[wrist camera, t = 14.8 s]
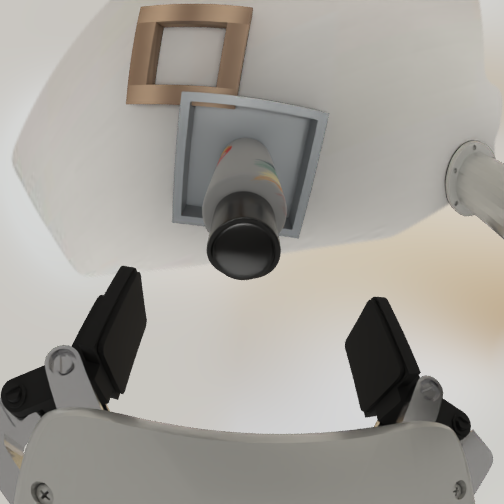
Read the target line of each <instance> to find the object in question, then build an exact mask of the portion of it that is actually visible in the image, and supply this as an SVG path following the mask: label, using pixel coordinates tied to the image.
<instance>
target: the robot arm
mask: <svg viewBox="0 0 504 504" xmlns="http://www.w3.org/2000/svg"><path fill="white" fill-rule="evenodd" d="M446 194H447V198H448V201H449V203H450V205H451V207H452V208H453V209H455V211H457V212H458V213H459V214H461V215H463V216H472V215H476V216H477V217H479V218H480V219H481V220H482V221H484V222H485V223H486V224H487V225H488V226H489V227H491V228H492V229H493V230H494V231H495V232H496V233H498V234H499V235H500V236H501V237H502V238H503V239H504V163H502V162H500V161H498V160H496V159H495V156H494V154H493V152H492V151H491V149H490V148H489V147H488V146H487V145H485V144H483V143H481V142H478V141H470V142H467V143H465V144H463V145H462V146H461V147H460V148H459V149H458V150H457V151H456V153H455V154H454V156H453V158H452V160H451V162H450V164H449V167H448V171H447V176H446ZM146 322H147V319H146V313H145V305H144V298H143V291H142V282H141V274H140V272H137V270H136V268H133V267H127V266H121V267H120V269H119V270H118V272H117V274H116V275H115V277H114V279H113V281H112V282H111V284H110V286H109V287H108V289H107V291H106V293H105V294H104V295H100V296H99V297H98V298H97V300H96V302H95V303H94V305H93V307H92V309H91V311H90V312H89V314H88V316H87V318H86V320H85V321H84V323H83V325H82V327H81V329H80V331H79V333H78V335H77V337H76V339H75V341H74V343H73V345H72V347H71V346H66V345H62V346H57V347H55V348H53V349H52V350H51V351H50V352H49V353H48V355H47V356H46V359H45V365H44V366H42V367H39V368H37V369H35V370H32V371H30V372H27V373H25V374H23V375H20V376H18V377H15V378H13V379H11V380H9V381H7V382H6V383H5V385H4V386H3V388H2V391H1V398H0V490H1V492H2V493H3V495H4V496H5V497H6V499H7V500H8V501H9V503H10V504H475V500H474V494H475V493H476V491H477V489H478V488H479V486H480V484H481V483H482V481H483V480H484V478H485V476H486V475H487V473H488V471H489V469H490V467H491V465H492V462H493V456H492V453H491V451H490V450H489V448H488V447H487V446H486V445H485V443H484V442H483V441H482V440H481V439H480V437H479V436H478V435H477V434H476V433H475V431H474V430H472V431H470V428H471V425H470V420H469V418H468V416H467V415H466V414H465V413H464V412H462V411H461V410H459V409H458V408H456V407H455V406H453V405H452V404H450V403H449V402H447V401H446V400H444V399H443V390H442V387H441V385H440V384H439V382H438V381H437V380H436V379H435V378H433V377H431V376H422V377H421V378H420V377H419V374H420V373H421V372H420V370H419V367H418V365H417V363H416V360H415V358H414V356H413V353H412V351H411V349H410V346H409V344H408V342H407V340H406V338H405V335H404V333H403V331H402V329H401V327H400V325H399V322H398V321H397V318H396V316H395V314H394V312H393V310H392V308H391V306H390V304H389V302H388V300H387V299H386V298H384V297H373V298H372V299H371V300H369V301H368V302H367V304H366V306H365V307H364V309H363V311H362V313H361V315H360V316H359V318H358V320H357V322H356V324H355V325H354V327H353V329H352V331H351V332H350V334H349V336H348V338H347V339H346V342H345V349H346V352H347V356H348V360H349V363H350V368H351V372H352V375H353V379H354V383H355V387H356V391H357V395H358V399H359V404H360V408H361V410H362V411H364V414H365V417H371V416H376V415H377V419H378V420H377V422H376V424H375V426H374V427H371V428H364V429H357V430H349V431H338V432H326V433H308V434H255V433H237V432H225V431H214V430H205V429H198V428H191V427H184V426H178V425H172V424H166V423H161V422H156V421H151V420H146V419H140V418H136V417H132V416H128V415H123V414H119V413H114V412H110V410H109V408H108V406H107V403H109V400H110V398H114V399H117V400H118V398H119V395H120V393H121V394H123V393H124V392H125V389H126V385H127V382H128V379H129V375H130V372H131V369H132V366H133V363H134V359H135V357H136V354H137V351H138V348H139V345H140V342H141V339H142V336H143V333H144V330H145V328H146ZM27 443H28V444H27ZM26 444H27V447H26V450H25V453H23V451H24V447H25V445H26Z"/></svg>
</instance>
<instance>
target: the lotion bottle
mask: <svg viewBox="0 0 504 504" xmlns="http://www.w3.org/2000/svg"><path fill="white" fill-rule="evenodd" d="M202 215H203V221H204V224H205V226H206V229H207V230H208V232H209V238H208V243H207V256H208V259H209V261H210V262H211V264H212V265H213V266H214V267H215V268H216V269H217V270H219V271H220V272H222V273H224V274H225V275H227V276H228V277H231V278H234V279H238V280H249V279H253V278H259V277H262V276H265V275H266V274H268V273H270V272H271V271H272V270H273V269H274V268H275V267H276V265H277V264H278V261H279V259H280V253H281V248H280V241H279V233H280V232H281V230H282V229H283V227H284V224H285V221H286V215H287V206H286V201H285V198H284V194H283V191H282V188H281V185H280V182H279V179H278V176H277V174H276V171H275V168H274V165H273V162H272V159H271V157H270V154H269V152H268V150H267V149H266V147H265V146H264V145H263V144H262V143H261V142H259V141H257V140H255V139H252V138H240V139H236V140H234V141H232V142H231V143H230V144H228V145H227V147H226V148H225V149H224V151H223V153H222V155H221V157H220V159H219V162H218V164H217V167H216V169H215V172H214V174H213V177H212V179H211V182H210V184H209V187H208V189H207V192H206V195H205V198H204V201H203V207H202Z"/></svg>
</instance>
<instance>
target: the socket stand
mask: <svg viewBox="0 0 504 504" xmlns="http://www.w3.org/2000/svg"><path fill="white" fill-rule="evenodd" d="M252 11H253V8H252V7H243V6H232V5H217V4H169V5H155V6H144V7H141V8H140V13H139V17H138V22H137V27H136V32H135V38H134V43H133V50H132V56H131V63H130V71H129V79H128V88H127V99H126V104H172V105H180V102H181V94H182V92H201V93H214V94H224V95H233V96H238V91H239V85H240V79H241V73H242V67H243V61H244V56H245V50H246V45H247V39H248V34H249V29H250V24H251V19H252ZM164 27H214V28H226V33H225V39H224V44H223V50H222V55H221V61H220V67H219V73H218V80H217V86H216V87H206V86H190V85H155V79H156V72H157V65H158V58H159V52H160V46H161V40H162V34H163V29H164ZM192 106H205V107H216V108H226V109H234V110H235V108H236V105H228V104H218V103H207V102H194V101H192Z"/></svg>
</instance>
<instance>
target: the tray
mask: <svg viewBox="0 0 504 504" xmlns="http://www.w3.org/2000/svg"><path fill="white" fill-rule="evenodd" d="M192 101H194V102H207V103H218V104H228V105H236V108H235V110H234V109H226V108H216V107H205V106H192ZM328 116H329V113H325V112H322V111H318V110H314V109H310V108H305V107H301V106H296V105H291V104H286V103H281V102H275V101H269V100H263V99H257V98H250V97H243V96H233V95H224V94H214V93H201V92H182V94H181V102H180V111H179V121H178V131H177V142H176V155H175V170H174V189H173V220H172V223H181V224H190V225H198V226H205V224H204V221H203V215H202V207H203V201H204V198H205V195H206V192H207V189H208V187H209V184H210V182H211V179H212V177H213V174H214V172H215V169H216V167H217V164H218V162H219V159H220V157H221V155H222V153H223V151H224V149H225V148H226V147H227V145H228V144H230V143H231V142H232V141H234V140H236V139H240V138H252V139H255V140H257V141H259V142H261V143H262V144H263V145H264V146H265V147H266V149H267V150H268V152H269V154H270V157H271V159H272V162H273V165H274V168H275V171H276V174H277V176H278V179H279V182H280V185H281V188H282V191H283V194H284V198H285V201H286V206H287V215H286V221H285V224H284V227H283V229H282V230H281V232H280V233H279V236H285V237H293V238H299V235H300V231H301V227H302V223H303V220H304V216H305V212H306V208H307V204H308V201H309V197H310V193H311V189H312V185H313V181H314V177H315V173H316V168H317V164H318V160H319V156H320V152H321V147H322V143H323V139H324V134H325V130H326V125H327V121H328Z"/></svg>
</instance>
